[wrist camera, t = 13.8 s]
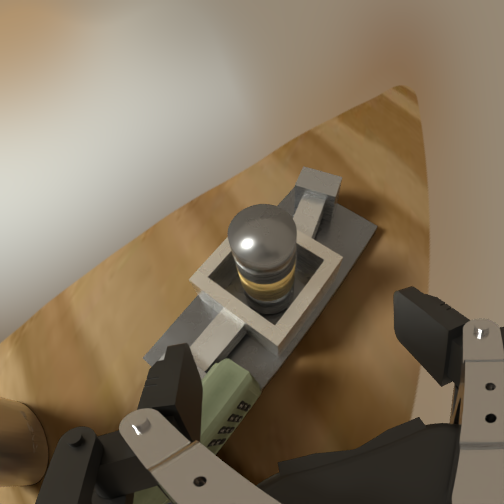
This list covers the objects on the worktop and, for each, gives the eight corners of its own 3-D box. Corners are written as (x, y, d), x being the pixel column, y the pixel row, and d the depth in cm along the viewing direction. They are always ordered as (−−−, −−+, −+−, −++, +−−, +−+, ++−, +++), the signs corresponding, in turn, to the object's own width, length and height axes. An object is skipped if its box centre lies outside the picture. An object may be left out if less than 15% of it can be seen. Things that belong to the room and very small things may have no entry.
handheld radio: (269, 391, 24) (111, 575, 15) (236, 369, 25) (86, 552, 16) (261, 379, 18) (71, 595, 9) (217, 350, 20) (43, 567, 11)
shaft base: (228, 430, 22) (215, 433, 18) (147, 360, 26) (121, 346, 21) (375, 231, 30) (388, 198, 25) (299, 188, 33) (300, 153, 29)
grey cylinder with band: (261, 323, 25) (250, 275, 18) (236, 285, 27) (215, 224, 19) (303, 296, 26) (310, 239, 18) (276, 261, 28) (271, 194, 20)
